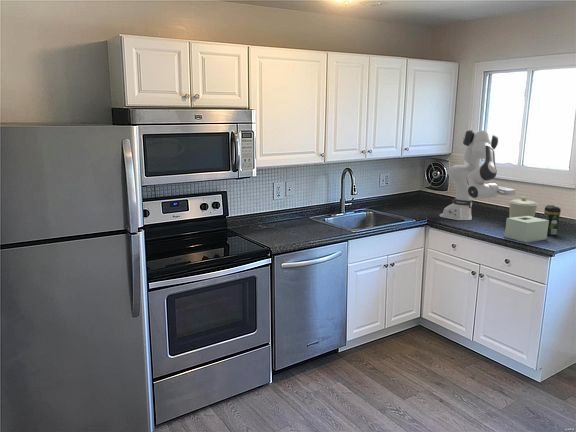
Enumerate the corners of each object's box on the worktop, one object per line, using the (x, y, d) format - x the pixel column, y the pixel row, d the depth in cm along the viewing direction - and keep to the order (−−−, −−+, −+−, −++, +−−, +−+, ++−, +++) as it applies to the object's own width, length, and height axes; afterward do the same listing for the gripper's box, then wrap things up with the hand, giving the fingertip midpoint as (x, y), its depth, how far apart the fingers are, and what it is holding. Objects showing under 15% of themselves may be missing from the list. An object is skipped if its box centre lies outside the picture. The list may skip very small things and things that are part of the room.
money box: (524, 242, 274) (527, 222, 272) (504, 236, 287) (506, 218, 284) (546, 239, 283) (549, 220, 281) (525, 234, 296) (528, 215, 293)
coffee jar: (539, 231, 303) (543, 204, 299) (551, 232, 302) (556, 204, 299) (545, 235, 294) (550, 206, 290) (558, 236, 293) (563, 207, 289)
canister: (532, 225, 323) (536, 195, 319) (537, 230, 306) (541, 199, 302) (504, 222, 328) (507, 193, 324) (507, 228, 311) (511, 197, 307)
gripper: (506, 188, 270) (522, 187, 277) (478, 182, 288) (494, 181, 294) (505, 198, 272) (520, 197, 278) (477, 192, 290) (492, 191, 296)
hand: (506, 189), depth 286 cm, fingers open, 8 cm apart
